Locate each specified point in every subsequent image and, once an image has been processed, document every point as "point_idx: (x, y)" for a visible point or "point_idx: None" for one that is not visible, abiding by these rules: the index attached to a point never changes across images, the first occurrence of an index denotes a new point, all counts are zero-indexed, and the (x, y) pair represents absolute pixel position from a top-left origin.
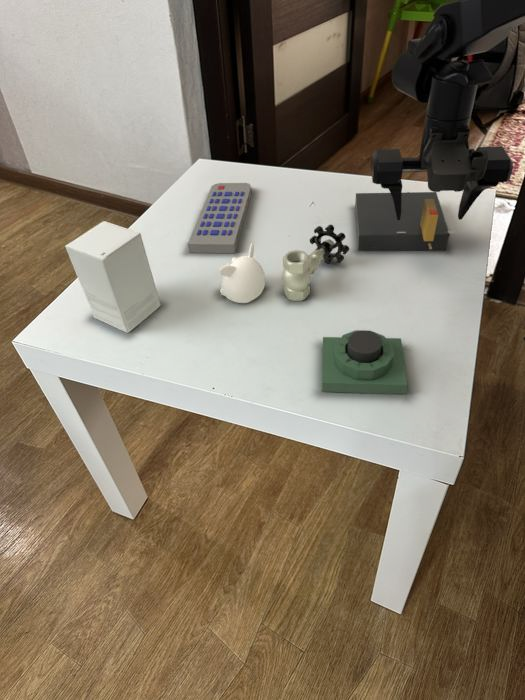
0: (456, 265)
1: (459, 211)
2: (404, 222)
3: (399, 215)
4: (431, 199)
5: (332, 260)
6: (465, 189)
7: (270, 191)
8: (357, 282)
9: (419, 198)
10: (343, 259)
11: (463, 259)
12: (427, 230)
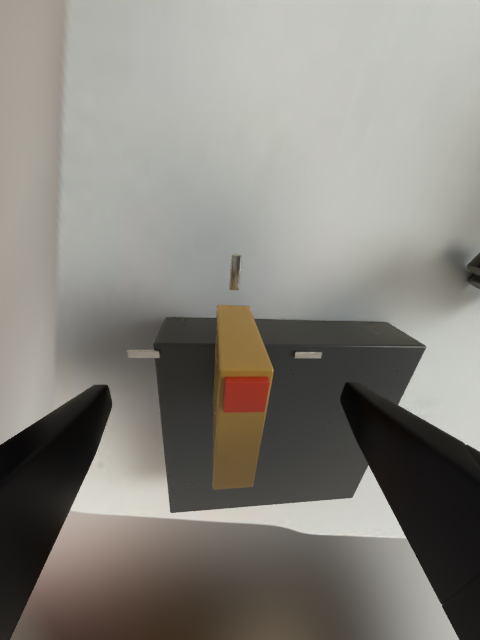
0: (141, 242)
1: (98, 422)
2: (281, 402)
3: (366, 394)
4: (224, 485)
5: (473, 277)
6: (13, 583)
7: None
8: (452, 169)
9: (216, 491)
10: (473, 262)
11: (117, 273)
12: (250, 324)
